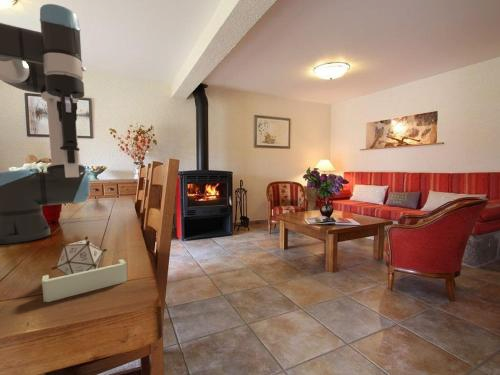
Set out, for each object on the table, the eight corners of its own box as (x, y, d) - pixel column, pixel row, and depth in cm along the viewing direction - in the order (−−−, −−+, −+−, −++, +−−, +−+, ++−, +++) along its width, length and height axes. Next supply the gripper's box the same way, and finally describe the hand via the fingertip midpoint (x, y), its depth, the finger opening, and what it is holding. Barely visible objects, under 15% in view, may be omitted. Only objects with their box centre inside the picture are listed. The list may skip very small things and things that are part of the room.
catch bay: (44, 295, 45) (42, 275, 45) (123, 275, 53) (122, 259, 53) (43, 303, 43) (41, 282, 42) (127, 281, 50) (126, 263, 50)
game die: (84, 291, 55) (95, 246, 60) (108, 283, 51) (118, 236, 57) (35, 285, 48) (53, 235, 54) (60, 275, 45) (77, 222, 50)
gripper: (85, 72, 59) (93, 176, 60) (81, 88, 69) (87, 176, 71) (43, 65, 54) (52, 178, 56) (45, 83, 65) (53, 177, 66)
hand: (72, 177), depth 63 cm, fingers closed
